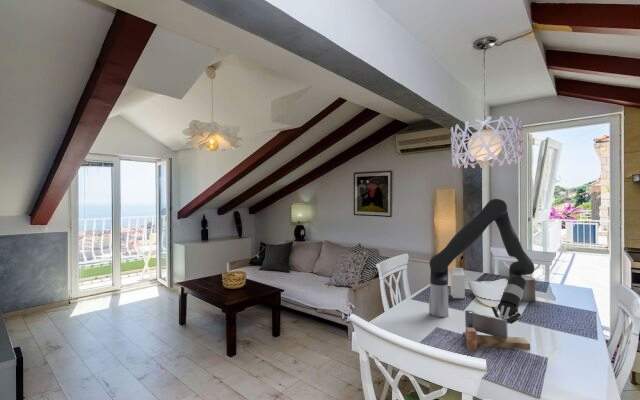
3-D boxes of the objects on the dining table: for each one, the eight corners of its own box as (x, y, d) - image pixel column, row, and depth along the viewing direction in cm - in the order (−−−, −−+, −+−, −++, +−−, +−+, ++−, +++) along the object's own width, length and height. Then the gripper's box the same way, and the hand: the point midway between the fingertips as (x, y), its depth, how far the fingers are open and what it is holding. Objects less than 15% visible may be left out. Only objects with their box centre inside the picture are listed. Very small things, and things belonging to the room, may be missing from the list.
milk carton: (465, 298, 200) (464, 269, 200) (453, 298, 202) (452, 268, 202) (462, 295, 207) (461, 266, 207) (450, 295, 209) (450, 266, 209)
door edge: (468, 350, 133) (468, 331, 133) (457, 331, 151) (457, 315, 151) (535, 354, 128) (535, 335, 128) (515, 335, 147) (515, 318, 147)
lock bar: (464, 333, 147) (464, 311, 147) (467, 331, 150) (466, 309, 150) (505, 345, 135) (505, 321, 135) (508, 342, 138) (507, 319, 138)
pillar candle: (532, 297, 201) (531, 274, 201) (537, 302, 192) (536, 277, 192) (515, 296, 204) (514, 273, 204) (519, 301, 195) (518, 276, 195)
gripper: (494, 288, 151) (482, 320, 144) (525, 295, 140) (513, 329, 133) (500, 297, 154) (488, 329, 147) (530, 304, 143) (519, 338, 136)
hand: (500, 329), depth 140 cm, fingers closed
